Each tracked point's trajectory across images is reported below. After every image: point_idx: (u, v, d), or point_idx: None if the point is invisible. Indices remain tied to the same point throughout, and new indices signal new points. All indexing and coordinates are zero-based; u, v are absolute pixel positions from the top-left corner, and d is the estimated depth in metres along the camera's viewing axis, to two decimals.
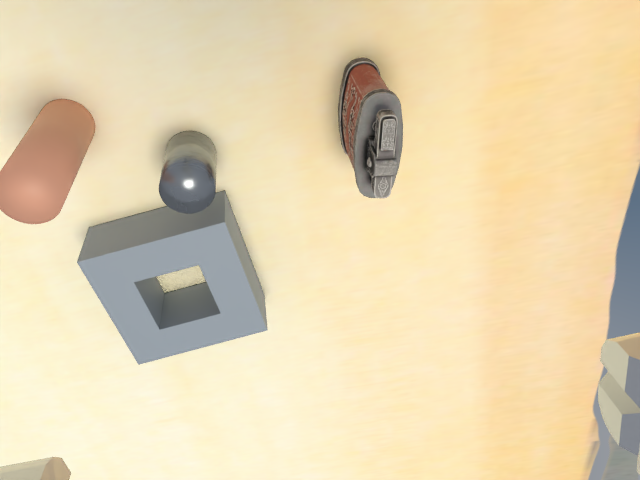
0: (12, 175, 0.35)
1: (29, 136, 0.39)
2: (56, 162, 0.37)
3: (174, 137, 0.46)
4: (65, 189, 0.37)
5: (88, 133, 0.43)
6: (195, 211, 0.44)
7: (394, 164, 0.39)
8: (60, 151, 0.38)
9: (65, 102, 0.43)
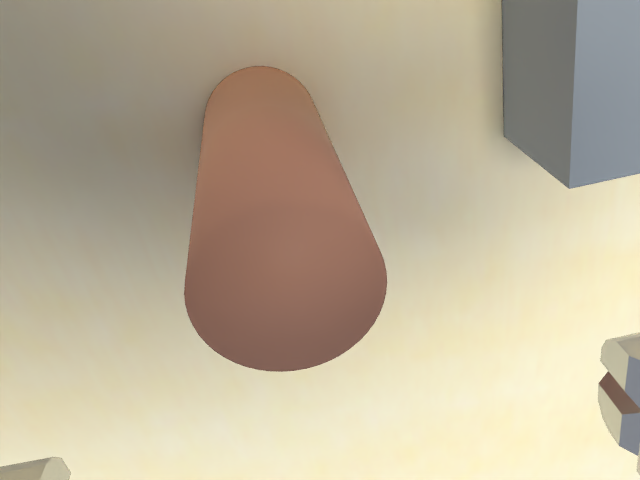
0: (213, 316, 0.12)
1: None
2: (223, 183, 0.12)
3: None
4: (294, 184, 0.11)
5: (260, 82, 0.18)
6: None
7: None
8: (219, 160, 0.14)
9: None
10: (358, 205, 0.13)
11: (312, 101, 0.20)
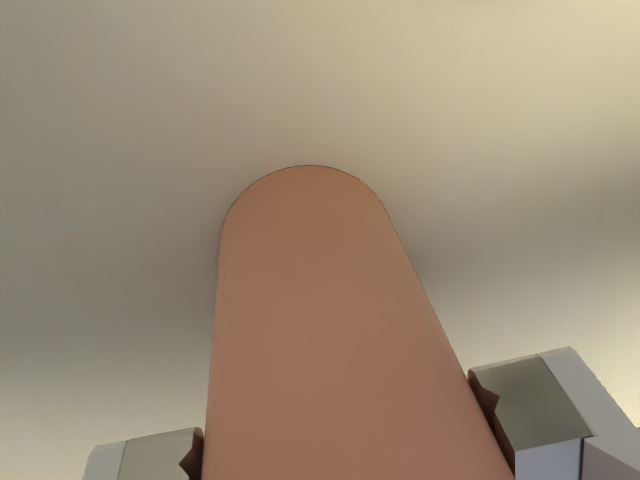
0: None
1: None
2: None
3: None
4: None
5: (315, 210, 0.11)
6: None
7: None
8: (252, 474, 0.06)
9: (220, 242, 0.13)
10: None
11: (390, 221, 0.13)
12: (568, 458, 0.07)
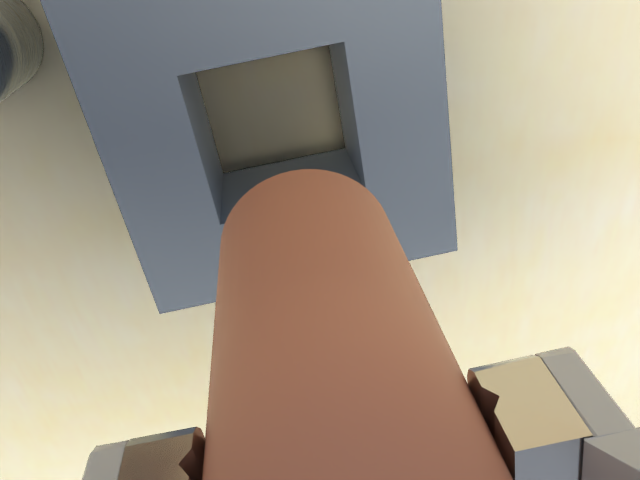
0: None
1: None
2: None
3: None
4: None
5: (315, 214, 0.11)
6: None
7: None
8: None
9: (220, 245, 0.13)
10: None
11: (390, 224, 0.13)
12: (568, 458, 0.07)
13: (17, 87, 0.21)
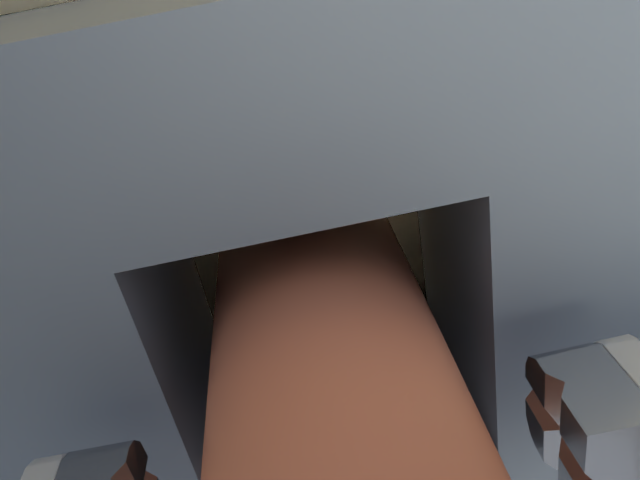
0: None
1: None
2: None
3: None
4: None
5: None
6: None
7: None
8: (251, 443, 0.07)
9: None
10: None
11: None
12: (639, 443, 0.07)
13: None
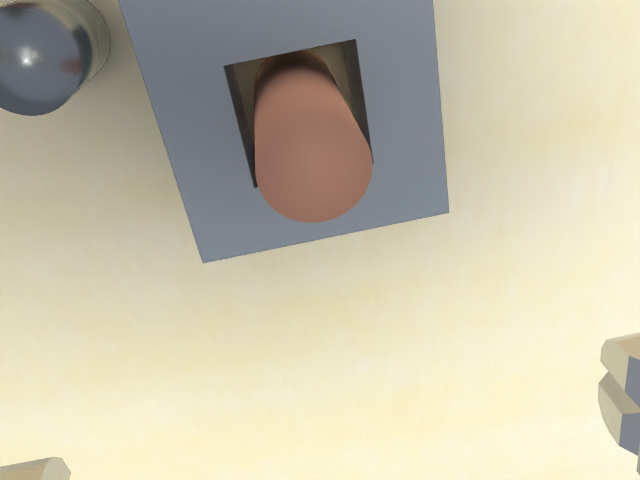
0: (270, 183, 0.20)
1: None
2: (276, 108, 0.21)
3: None
4: (318, 105, 0.20)
5: (295, 58, 0.27)
6: (71, 55, 0.22)
7: None
8: (272, 99, 0.22)
9: (255, 82, 0.29)
10: None
11: None
12: None
13: (91, 76, 0.26)
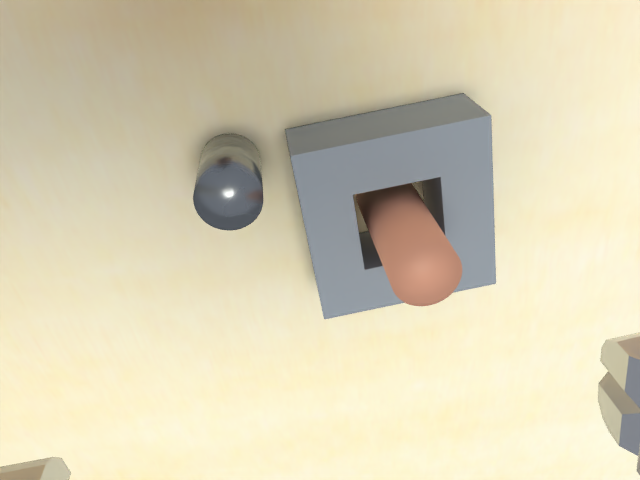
0: (399, 283, 0.32)
1: (374, 244, 0.36)
2: (400, 234, 0.33)
3: None
4: (430, 236, 0.32)
5: None
6: (260, 194, 0.34)
7: None
8: (392, 223, 0.34)
9: None
10: (449, 243, 0.33)
11: None
12: None
13: None
